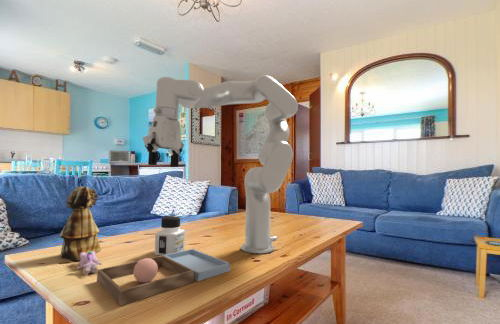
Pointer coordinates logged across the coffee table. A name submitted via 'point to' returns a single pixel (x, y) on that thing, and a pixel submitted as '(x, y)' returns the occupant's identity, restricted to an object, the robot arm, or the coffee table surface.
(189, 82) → the robot arm
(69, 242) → the plaid cloth bag
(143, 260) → the ball
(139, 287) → the wooden box frame
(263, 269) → the coffee table surface
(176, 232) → the container
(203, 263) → the tray
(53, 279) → the coffee table surface
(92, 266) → the pink plastic figure
